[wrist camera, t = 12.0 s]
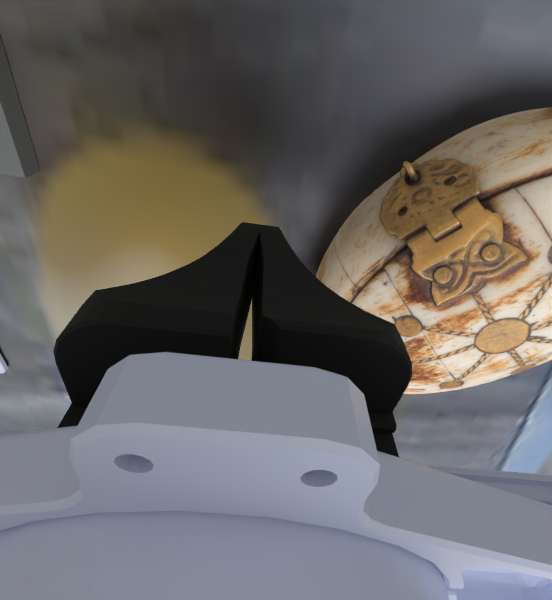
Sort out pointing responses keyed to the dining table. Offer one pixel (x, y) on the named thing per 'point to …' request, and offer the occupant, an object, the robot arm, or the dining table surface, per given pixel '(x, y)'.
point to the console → (13, 128)
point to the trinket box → (459, 254)
